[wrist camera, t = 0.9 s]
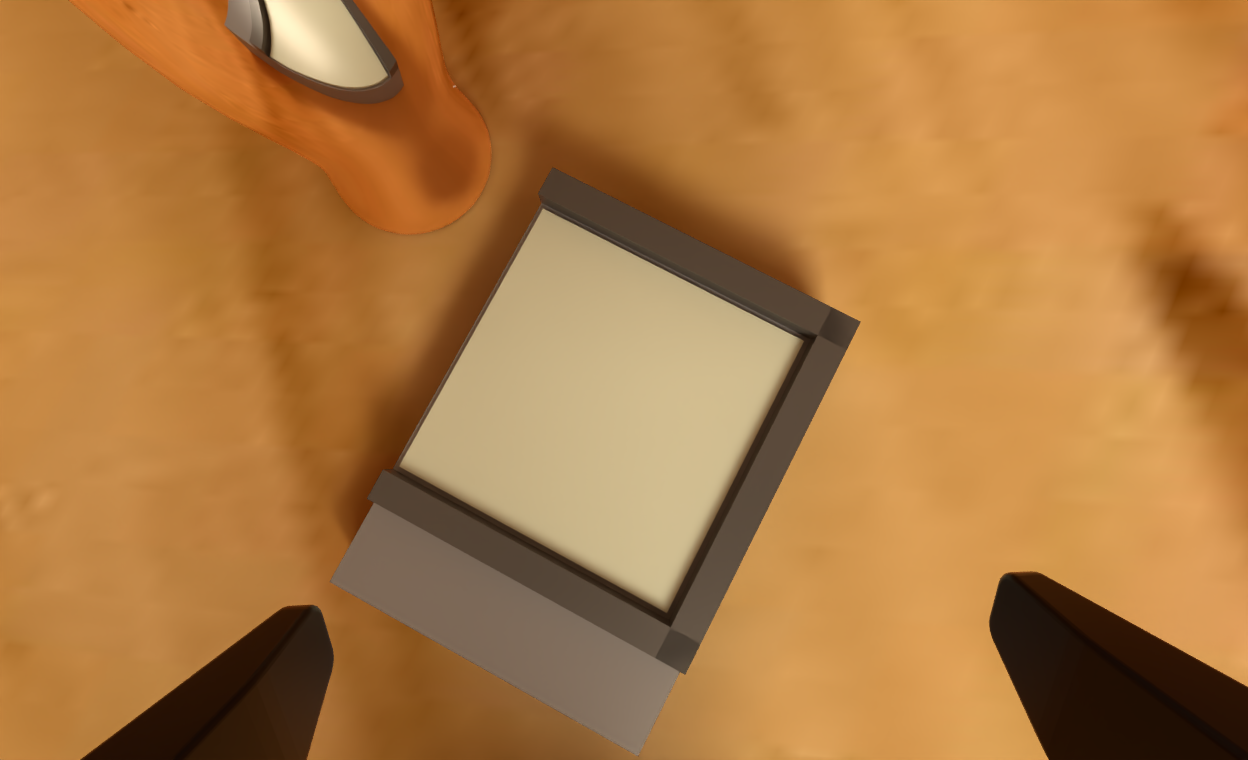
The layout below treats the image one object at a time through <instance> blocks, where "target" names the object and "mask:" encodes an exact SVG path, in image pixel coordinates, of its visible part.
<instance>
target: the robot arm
mask: <svg viewBox="0 0 1248 760" xmlns="http://www.w3.org/2000/svg"><path fill="white" fill-rule="evenodd" d="M989 627H990V632H991V636H992V639H993V641H994V643H995V646H996V648H997V650H998V652H999V654H1000V656H1001V659H1002V661H1003V663H1004V665H1005V667H1006V670H1007V672H1008V674H1009V676H1010V678H1011V681H1012V683H1013V685H1014V687H1015V689H1016V691H1017V694H1018V696H1019V698H1020V700H1021V702H1022V705H1023V707H1024V709H1025V711H1026V713H1027V716H1028V718H1029V720H1030V722H1031V724H1032V726H1033V729H1034V731H1035V733H1036V735H1037V737H1038V739H1039V741H1040V743H1041V745H1042V747H1043V749H1044V751H1045V753H1046V755H1047V757H1048V759H1049V760H1248V687H1247V686H1245V685H1243V684H1241V683H1240V682H1238V681H1236V680H1234V679H1232V678H1231V677H1229V676H1227V675H1225V674H1223V673H1221V672H1220V671H1218V670H1216V669H1214V668H1212V667H1210V666H1209V665H1207V664H1205V663H1203V662H1201V661H1200V660H1198V659H1196V658H1194V657H1192V656H1190V655H1189V654H1187V653H1185V652H1183V651H1181V650H1180V649H1178V648H1176V647H1174V646H1172V645H1170V644H1169V643H1167V642H1165V641H1163V640H1161V639H1159V638H1158V637H1156V636H1154V635H1152V634H1150V633H1149V632H1147V631H1145V630H1143V629H1141V628H1139V627H1138V626H1136V625H1134V624H1132V623H1130V622H1128V621H1127V620H1125V619H1123V618H1121V617H1119V616H1118V615H1116V614H1114V613H1112V612H1110V611H1108V610H1107V609H1105V608H1103V607H1101V606H1099V605H1098V604H1096V603H1094V602H1092V601H1090V600H1088V599H1087V598H1085V597H1083V596H1081V595H1079V594H1077V593H1076V592H1074V591H1072V590H1070V589H1068V588H1067V587H1065V586H1063V585H1061V584H1059V583H1057V582H1056V581H1054V580H1052V579H1050V578H1048V577H1047V576H1045V575H1043V574H1041V573H1038V572H1032V571H1030V572H1010V573H1006V574H1004V575H1003V576H1002V577H1001V578H1000V581H999V584H998V588H997V592H996V596H995V599H994V603H993V607H992V611H991V615H990V620H989ZM333 661H334V655H333V648H332V645H331V641H330V638H329V635H328V632H327V628H326V625H325V622H324V618H323V615H322V612H321V610H320V609H319V608H318V607H317V606H314V605H298V606H287V607H284V608H282V609H280V610H279V611H277V612H276V613H275V614H273V615H272V616H271V617H269V618H268V619H267V620H265V621H264V622H263V623H261V624H260V625H259V626H257V627H256V628H255V629H253V630H252V631H251V632H249V633H248V634H247V635H245V636H244V637H243V638H241V639H240V640H239V641H237V642H236V643H235V644H233V645H232V646H231V647H229V648H228V649H227V650H225V651H224V652H223V653H221V654H220V655H219V656H217V657H216V658H215V659H213V660H212V661H211V662H209V663H208V664H207V665H205V666H204V667H203V668H201V669H200V670H199V671H197V672H196V673H195V674H193V675H192V676H191V677H190V678H188V679H187V680H186V681H184V682H183V683H182V684H180V685H179V686H178V687H176V688H175V689H174V690H172V691H171V692H170V693H168V694H167V695H166V696H164V697H163V698H162V699H160V700H159V701H158V702H156V703H155V704H154V705H152V706H151V707H150V708H148V709H147V710H146V711H144V712H143V713H142V714H140V715H139V716H138V717H136V718H135V719H134V720H132V721H131V722H130V723H128V724H127V725H126V726H124V727H123V728H122V729H120V730H119V731H118V732H116V733H115V734H114V735H112V736H111V737H110V738H108V739H107V740H106V741H104V742H103V743H102V744H101V745H99V746H98V747H97V748H95V749H94V750H93V751H91V752H90V753H89V754H87V755H86V756H85V757H83V758H82V759H81V760H307V756H308V753H309V749H310V746H311V742H312V739H313V735H314V732H315V728H316V725H317V721H318V718H319V714H320V711H321V707H322V704H323V700H324V697H325V693H326V690H327V686H328V683H329V679H330V676H331V672H332V668H333Z"/></svg>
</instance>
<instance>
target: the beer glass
mask: <svg viewBox="0 0 1248 760" xmlns="http://www.w3.org/2000/svg"><path fill="white" fill-rule="evenodd" d="M68 1H70V2H71V3H72V4H73V5H74V6H76V7H77V8H78V9H79V10H80V11H82V12H83V13H84V14H85V15H86V16H88V17H89V18H90V19H91V20H92V21H93V22H95V23H96V24H97V25H98V26H99V27H101V28H102V29H103V30H104V31H105V32H107V33H108V34H109V35H110V36H111V37H113V38H114V39H115V40H116V41H117V42H118V43H120V44H121V45H122V46H123V47H125V48H126V49H127V50H129V51H130V52H131V53H133V54H134V55H135V56H137V57H138V58H139V59H141V60H142V61H143V62H145V63H146V64H147V65H149V66H150V67H151V68H153V69H154V70H156V71H157V72H158V73H160V74H161V75H162V76H164V77H165V78H166V79H168V80H169V81H170V82H172V83H173V84H174V85H176V86H177V87H179V88H180V89H182V90H183V91H185V92H186V93H188V94H190V95H191V96H193V97H195V98H196V99H198V100H200V101H201V102H203V103H205V104H206V105H208V106H210V107H211V108H213V109H215V110H216V111H218V112H220V113H221V114H223V115H225V116H226V117H228V118H230V119H231V120H233V121H235V122H237V123H239V124H241V125H243V126H245V127H247V128H248V129H250V130H252V131H254V132H256V133H258V134H260V135H262V136H264V137H265V138H267V139H269V140H271V141H273V142H275V143H277V144H279V145H281V146H283V147H285V148H287V149H289V150H291V151H293V152H295V153H297V154H299V155H300V156H302V157H304V158H306V159H308V160H309V161H311V162H313V163H315V164H316V165H317V166H319V167H320V168H321V169H322V170H323V171H324V172H325V173H326V174H327V176H328V177H329V179H330V181H331V182H332V184H333V186H334V187H335V189H336V190H337V192H338V194H339V195H340V197H341V198H342V199H343V201H344V202H345V203H346V205H347V206H348V207H349V208H350V209H351V210H352V211H353V212H354V213H355V214H356V215H357V216H358V217H359V218H361V219H362V220H363V221H365V222H367V223H368V224H370V225H372V226H374V227H376V228H378V229H381V230H384V231H387V232H391V233H396V234H408V235H409V234H422V233H427V232H431V231H435V230H437V229H440V228H443V227H445V226H447V225H449V224H451V223H452V222H454V221H455V220H457V219H458V218H460V217H461V216H462V215H463V214H465V213H466V212H467V211H468V210H469V209H470V208H471V207H472V205H473V204H474V203H475V202H476V200H477V199H478V198H479V196H480V194H481V193H482V191H483V189H484V187H485V185H486V182H487V179H488V176H489V172H490V167H491V157H492V153H491V142H490V137H489V133H488V130H487V127H486V125H485V123H484V121H483V119H482V117H481V115H480V114H479V112H478V111H477V109H476V108H475V107H474V105H473V104H472V103H471V102H470V101H469V100H468V99H467V98H466V96H465V95H464V94H463V93H462V92H461V91H460V90H459V89H458V88H457V87H456V86H455V85H454V83H453V82H452V80H451V78H450V76H449V74H448V71H447V69H446V66H445V62H444V58H443V53H442V49H441V44H440V39H439V34H438V29H437V24H436V19H435V14H434V9H433V4H432V0H68Z"/></svg>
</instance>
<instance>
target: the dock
mask: <svg viewBox="0 0 1248 760" xmlns="http://www.w3.org/2000/svg"><path fill="white" fill-rule="evenodd" d="M538 195H539V198H540V200H541V205H540V207H539V209H538V210H537V212H536V214H535V216H534V218H533V219H532V221H531V223H530V225H529V226H528V228H527V230H526V232H525V234H524V235H523V237H522V239H521V241H520V243H519V244H518V246H517V248H516V250H515V251H514V253H513V255H512V257H511V259H510V260H509V262H508V264H507V266H506V268H505V269H504V271H503V273H502V275H501V277H500V278H499V280H498V282H497V284H496V285H495V287H494V289H493V291H492V293H491V294H490V296H489V298H488V300H487V302H486V303H485V305H484V307H483V309H482V310H481V312H480V314H479V316H478V318H477V319H476V321H475V323H474V325H473V327H472V328H471V330H470V332H469V334H468V335H467V337H466V339H465V341H464V343H463V344H462V346H461V348H460V350H459V352H458V353H457V355H456V357H455V359H454V361H453V362H452V364H451V366H450V368H449V369H448V371H447V373H446V375H445V377H444V378H443V380H442V382H441V384H440V386H439V387H438V389H437V391H436V393H435V394H434V396H433V398H432V400H431V402H430V403H429V405H428V407H427V409H426V411H425V412H424V414H423V416H422V418H421V419H420V421H419V423H418V425H417V427H416V428H415V430H414V432H413V434H412V436H411V437H410V439H409V441H408V443H407V445H406V446H405V448H404V450H403V452H402V453H401V455H400V457H399V459H398V461H397V462H396V464H395V466H394V468H393V469H385V470H383V471H382V472H381V474H380V476H379V478H378V480H377V481H376V483H375V485H374V487H373V489H372V490H371V492H370V494H369V496H368V497H367V499H368V500H370V501H372V502H374V503H373V505H372V507H371V509H370V511H369V512H368V514H367V516H366V518H365V520H364V521H363V523H362V525H361V527H360V529H359V530H358V532H357V534H356V536H355V537H354V539H353V541H352V543H351V545H350V546H349V548H348V550H347V552H346V554H345V555H344V557H343V559H342V561H341V562H340V564H339V566H338V568H337V570H336V571H335V573H334V575H333V577H332V579H331V580H330V582H331V583H333V584H334V585H336V586H338V587H340V588H341V589H343V590H345V591H347V592H348V593H350V594H352V595H354V596H356V597H357V598H359V599H361V600H363V601H364V602H366V603H368V604H370V605H371V606H373V607H375V608H377V609H378V610H380V611H382V612H384V613H386V614H387V615H389V616H391V617H393V618H394V619H396V620H398V621H400V622H401V623H403V624H405V625H407V626H409V627H410V628H412V629H414V630H416V631H417V632H419V633H421V634H423V635H424V636H426V637H428V638H430V639H431V640H433V641H435V642H437V643H439V644H440V645H442V646H444V647H446V648H447V649H449V650H451V651H453V652H454V653H456V654H458V655H460V656H462V657H463V658H465V659H467V660H469V661H470V662H472V663H474V664H476V665H477V666H479V667H481V668H483V669H484V670H486V671H488V672H490V673H492V674H493V675H495V676H497V677H499V678H500V679H502V680H504V681H506V682H507V683H509V684H511V685H513V686H515V687H516V688H518V689H520V690H522V691H523V692H525V693H527V694H529V695H530V696H532V697H534V698H536V699H537V700H539V701H541V702H543V703H545V704H546V705H548V706H550V707H552V708H553V709H555V710H557V711H559V712H560V713H562V714H564V715H566V716H568V717H569V718H571V719H573V720H575V721H576V722H578V723H580V724H582V725H583V726H585V727H587V728H589V729H590V730H592V731H594V732H596V733H598V734H599V735H601V736H603V737H605V738H606V739H608V740H610V741H612V742H613V743H615V744H617V745H619V746H621V747H622V748H624V749H626V750H628V751H629V752H631V753H633V754H635V755H636V756H638V755H639V753H640V751H641V749H642V747H643V745H644V743H645V741H646V739H647V737H648V735H649V733H650V731H651V729H652V727H653V725H654V723H655V721H656V719H657V717H658V715H659V713H660V711H661V709H662V707H663V705H664V703H665V701H666V699H667V697H668V695H669V693H670V691H671V689H672V687H673V685H674V683H675V681H676V679H677V677H678V675H679V673H680V672H681V673H683V674H686V672H687V670H688V668H689V666H690V664H691V662H692V660H693V658H694V656H695V654H696V652H697V650H698V648H699V646H700V644H701V642H702V640H703V638H704V636H705V634H706V632H707V630H708V628H709V626H710V624H711V622H712V620H713V618H714V616H715V614H716V612H717V610H718V608H719V606H720V604H721V602H722V600H723V598H724V596H725V594H726V592H727V590H728V588H729V586H730V584H731V582H732V580H733V578H734V576H735V574H736V572H737V570H738V568H739V566H740V563H741V561H742V559H743V557H744V555H745V553H746V551H747V549H748V547H749V545H750V543H751V541H752V539H753V537H754V535H755V533H756V531H757V529H758V527H759V525H760V523H761V521H762V519H763V517H764V515H765V513H766V511H767V509H768V507H769V505H770V503H771V501H772V499H773V497H774V495H775V493H776V491H777V489H778V487H779V485H780V483H781V481H782V479H783V477H784V475H785V473H786V471H787V469H788V467H789V465H790V463H791V461H792V459H793V457H794V455H795V453H796V451H797V449H798V447H799V445H800V443H801V441H802V439H803V437H804V435H805V433H806V431H807V429H808V427H809V425H810V423H811V421H812V419H813V417H814V415H815V413H816V411H817V409H818V407H819V405H820V403H821V401H822V399H823V397H824V394H825V392H826V390H827V388H828V386H829V384H830V382H831V380H832V378H833V376H834V374H835V372H836V370H837V368H838V366H839V364H840V362H841V360H842V358H843V356H844V354H845V352H846V350H847V348H848V346H849V344H850V342H851V340H852V338H853V336H854V334H855V332H856V330H857V328H858V326H859V324H860V321H858V320H856V319H854V318H852V317H850V316H848V315H846V314H844V313H842V312H840V311H838V310H836V309H834V308H832V307H830V306H828V305H826V304H824V303H822V302H820V301H818V300H816V299H814V298H812V297H810V296H808V295H806V294H804V293H802V292H800V291H798V290H796V289H794V288H792V287H790V286H788V285H786V284H784V283H782V282H780V281H778V280H776V279H774V278H772V277H770V276H768V275H766V274H764V273H762V272H760V271H758V270H756V269H754V268H752V267H750V266H748V265H746V264H744V263H742V262H741V261H739V260H737V259H735V258H733V257H731V256H729V255H727V254H725V253H723V252H721V251H719V250H717V249H715V248H713V247H711V246H709V245H707V244H705V243H703V242H701V241H699V240H697V239H695V238H693V237H691V236H689V235H687V234H685V233H683V232H681V231H679V230H677V229H675V228H673V227H671V226H669V225H667V224H665V223H663V222H661V221H659V220H657V219H655V218H653V217H651V216H649V215H647V214H645V213H643V212H641V211H639V210H637V209H635V208H633V207H631V206H629V205H627V204H625V203H623V202H621V201H619V200H617V199H615V198H613V197H611V196H609V195H607V194H605V193H603V192H601V191H599V190H597V189H595V188H593V187H591V186H589V185H587V184H585V183H583V182H581V181H579V180H577V179H575V178H573V177H571V176H569V175H567V174H565V173H563V172H561V171H559V170H557V169H555V168H552V169H551V171H550V173H549V175H548V177H547V178H546V180H545V182H544V184H543V185H542V187H541V189H540V191H539V193H538Z"/></svg>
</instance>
